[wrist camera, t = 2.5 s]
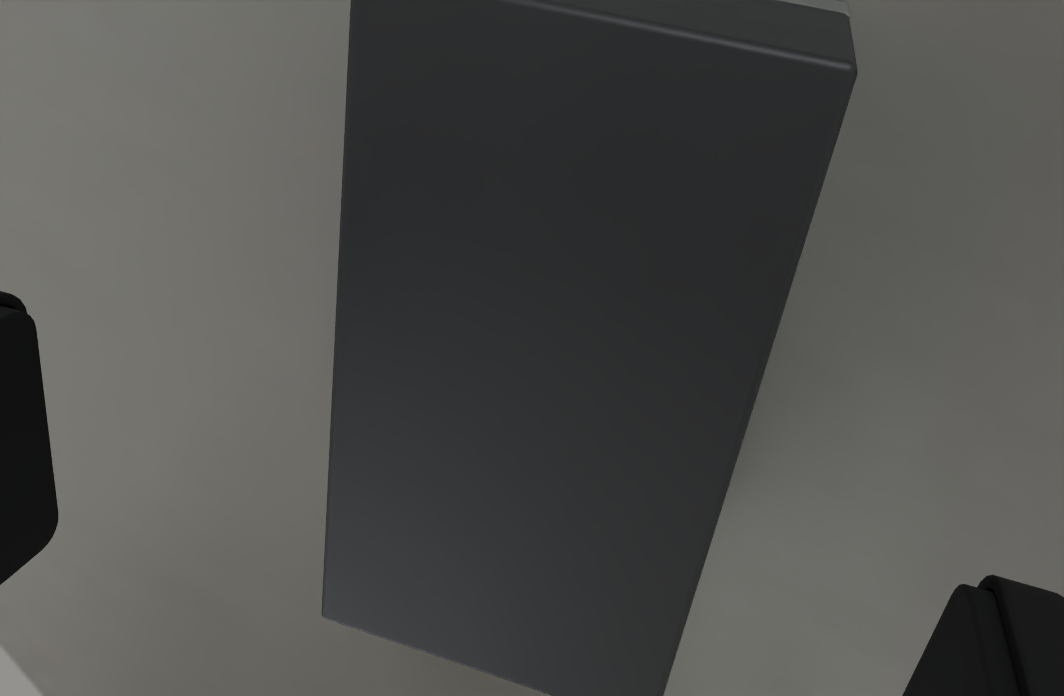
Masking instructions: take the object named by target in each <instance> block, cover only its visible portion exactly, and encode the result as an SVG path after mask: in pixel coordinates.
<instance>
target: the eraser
mask: <svg viewBox="0 0 1064 696" xmlns="http://www.w3.org/2000/svg"><path fill="white" fill-rule="evenodd" d="M849 19H850V12H849V6H848V4H847V3H845V2H840V1H835V0H351V9H350V30H349V51H348V72H347V93H346V114H345V135H344V156H343V177H342V198H341V219H340V240H339V261H338V282H337V303H336V324H335V345H334V366H333V387H332V408H331V429H330V450H329V471H328V492H327V513H326V534H325V555H324V576H323V597H322V616H323V617H324V618H326V619H328V620H331V621H334V622H337V623H340V624H343V625H346V626H349V627H352V628H355V629H358V630H361V631H364V632H367V633H370V634H373V635H375V636H378V637H381V638H384V639H387V640H390V641H393V642H396V643H399V644H402V645H405V646H408V647H411V648H414V649H417V650H420V651H423V652H426V653H429V654H432V655H434V656H437V657H440V658H443V659H446V660H449V661H452V662H455V663H458V664H461V665H464V666H467V667H470V668H473V669H476V670H479V671H482V672H485V673H488V674H491V675H493V676H496V677H499V678H502V679H505V680H508V681H511V682H514V683H517V684H520V685H523V686H526V687H529V688H532V689H535V690H538V691H541V692H544V693H547V694H550V695H553V696H663V694H664V691H665V688H666V684H667V681H668V678H669V675H670V672H671V668H672V665H673V662H674V659H675V656H676V652H677V649H678V646H679V643H680V640H681V636H682V633H683V630H684V627H685V624H686V620H687V617H688V614H689V611H690V608H691V604H692V601H693V598H694V595H695V592H696V588H697V585H698V582H699V579H700V576H701V572H702V569H703V566H704V563H705V560H706V556H707V553H708V550H709V547H710V544H711V540H712V537H713V534H714V531H715V528H716V524H717V521H718V518H719V515H720V512H721V508H722V505H723V502H724V499H725V496H726V492H727V489H728V486H729V483H730V480H731V476H732V473H733V470H734V467H735V464H736V460H737V457H738V454H739V451H740V448H741V444H742V441H743V438H744V435H745V432H746V428H747V425H748V422H749V419H750V416H751V412H752V409H753V406H754V403H755V400H756V396H757V393H758V390H759V387H760V384H761V380H762V377H763V374H764V371H765V368H766V364H767V361H768V358H769V355H770V352H771V348H772V345H773V342H774V339H775V336H776V332H777V329H778V326H779V323H780V320H781V316H782V313H783V310H784V307H785V304H786V300H787V297H788V294H789V291H790V288H791V284H792V281H793V278H794V275H795V272H796V268H797V265H798V262H799V259H800V256H801V252H802V249H803V246H804V243H805V240H806V236H807V233H808V230H809V227H810V224H811V220H812V217H813V214H814V211H815V208H816V204H817V201H818V198H819V195H820V192H821V188H822V185H823V182H824V179H825V176H826V172H827V169H828V166H829V163H830V160H831V156H832V153H833V150H834V147H835V144H836V140H837V137H838V134H839V131H840V128H841V124H842V121H843V118H844V115H845V112H846V108H847V105H848V102H849V99H850V96H851V92H852V89H853V86H854V83H855V80H856V76H857V64H856V58H855V52H854V46H853V40H852V34H851V28H850V21H849Z"/></svg>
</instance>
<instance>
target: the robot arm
mask: <svg viewBox="0 0 1064 696" xmlns="http://www.w3.org/2000/svg"><path fill="white" fill-rule="evenodd" d="M57 523H58V507H57V499H56V490H55V482H54V474H53V465H52V457H51V448H50V440H49V432H48V423H47V415H46V406H45V398H44V390H43V381H42V373H41V365H40V356H39V348H38V339H37V331H36V326H35V323H34V320H33V319H32V318H31V316H30V315H28V314H27V311H26V307H25V306H24V304H23V303H22V301H21V300H20V299H19V298H17V297H16V296H14V295H12V294H9V293H5V292H2V291H0V585H1V584H2V583H3V582H4V581H6V580H7V579H8V578H9V577H10V576H12V575H13V574H14V573H15V572H16V571H18V570H19V569H20V568H21V567H22V566H23V565H25V564H26V563H27V562H28V561H29V560H31V559H32V558H33V557H34V556H35V555H37V554H38V553H39V552H40V551H41V550H42V549H43V548H44V547H45V546H46V545H47V544H48V543H49V541H50V540H51V538H52V537H53V535H54V532H55V530H56V527H57ZM903 696H1064V597H1062V596H1061V595H1059V594H1058V593H1054V592H1051V591H1047V590H1044V589H1040V588H1037V587H1033V586H1030V585H1026V584H1023V583H1019V582H1016V581H1012V580H1009V579H1005V578H1002V577H998V576H995V575H990V576H986V577H985V578H984V579H983V580H982V581H981V582H980V583H979V585H978V587H977V588H976V587H973V586H969V585H966V584H961V585H959V586H958V587H957V588H956V589H955V590H954V592H953V594H952V595H951V597H950V599H949V601H948V603H947V605H946V607H945V609H944V611H943V614H942V616H941V618H940V620H939V622H938V624H937V626H936V628H935V630H934V632H933V634H932V636H931V638H930V640H929V642H928V644H927V646H926V648H925V650H924V653H923V655H922V657H921V659H920V661H919V663H918V665H917V667H916V669H915V671H914V673H913V675H912V677H911V679H910V681H909V683H908V685H907V687H906V689H905V692H904V694H903Z"/></svg>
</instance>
